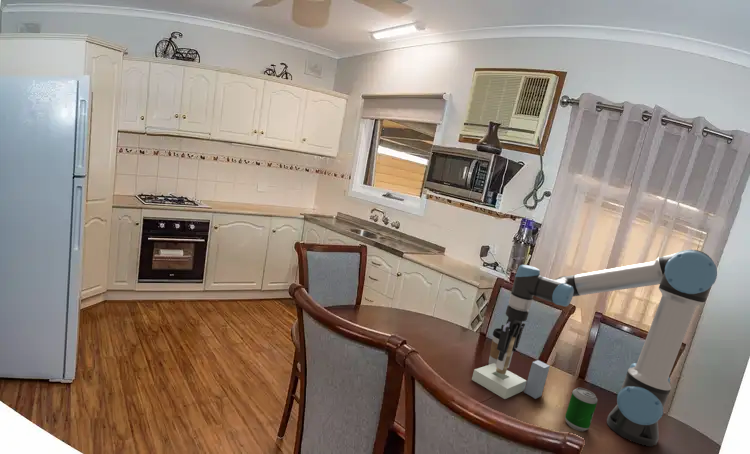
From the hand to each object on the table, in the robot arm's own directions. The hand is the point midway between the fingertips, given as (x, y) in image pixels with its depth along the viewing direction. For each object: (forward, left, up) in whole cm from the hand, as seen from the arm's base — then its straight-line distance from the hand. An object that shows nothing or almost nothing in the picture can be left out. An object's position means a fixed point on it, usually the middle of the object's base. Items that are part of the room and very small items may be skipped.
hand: (502, 367), depth 160 cm
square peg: (-10, -8, -7) cm, 15 cm away
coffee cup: (+10, -15, -7) cm, 19 cm away
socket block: (0, 0, -7) cm, 7 cm away
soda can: (-28, -3, -7) cm, 29 cm away
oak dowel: (0, 0, -2) cm, 2 cm away
